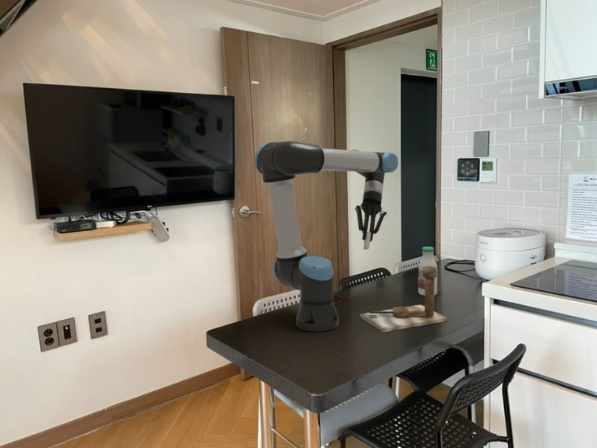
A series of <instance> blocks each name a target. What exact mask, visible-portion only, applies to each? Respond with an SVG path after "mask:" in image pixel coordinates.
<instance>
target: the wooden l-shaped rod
mask: <svg viewBox="0 0 597 448" xmlns="http://www.w3.org/2000/svg"><path fill="white" fill-rule="evenodd" d="M423 277H425V296H424V307H425V311H421V310H409V309H408V308H406V307H407V306H394V307H392V309H393V311H384V310H369V313H373V314H393V315H394V316H396V317H407V316H408V315H410V316H434V311H435V295H434V278H436V277H437V278H438V267H437V268H436V267H432V266H426V267H423Z"/></svg>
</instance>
